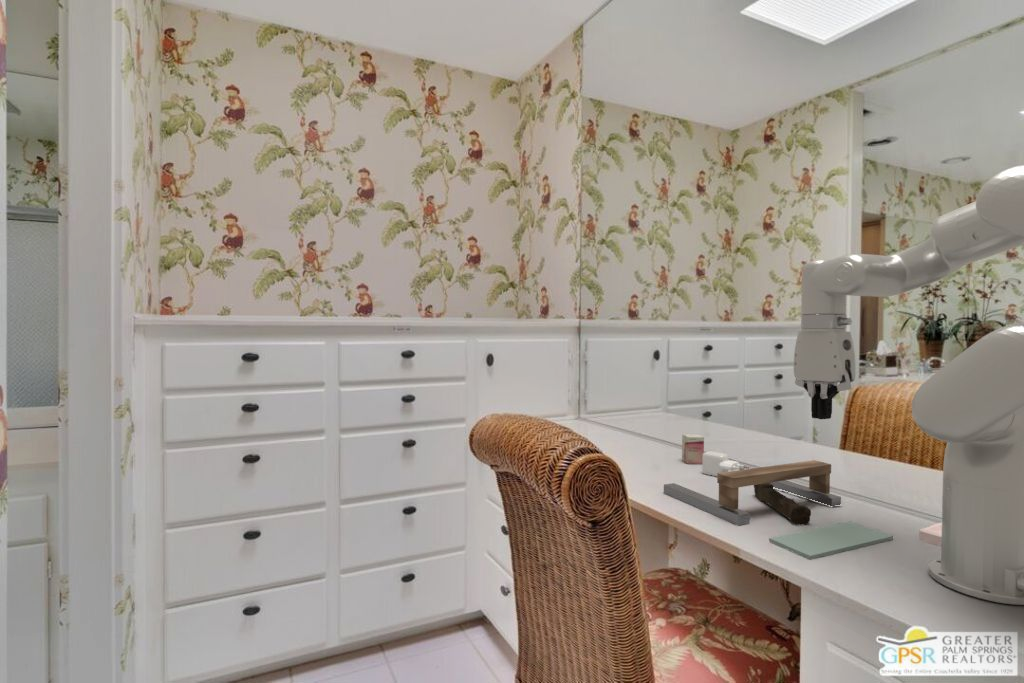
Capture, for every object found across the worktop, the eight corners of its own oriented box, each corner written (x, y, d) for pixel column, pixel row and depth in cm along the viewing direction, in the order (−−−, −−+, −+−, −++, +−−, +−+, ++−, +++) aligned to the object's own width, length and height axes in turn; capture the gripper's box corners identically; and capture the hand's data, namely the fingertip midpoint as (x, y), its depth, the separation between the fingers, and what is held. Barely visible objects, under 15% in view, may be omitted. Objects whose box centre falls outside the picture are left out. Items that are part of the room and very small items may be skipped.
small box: (686, 464, 149) (686, 436, 149) (681, 460, 153) (681, 433, 153) (704, 464, 149) (704, 436, 149) (698, 460, 153) (699, 433, 153)
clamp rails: (840, 505, 114) (841, 496, 114) (738, 525, 102) (738, 515, 102) (757, 479, 134) (757, 471, 134) (663, 493, 122) (663, 484, 122)
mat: (893, 539, 95) (893, 536, 95) (809, 559, 87) (810, 555, 87) (849, 524, 103) (849, 521, 103) (769, 541, 94) (769, 538, 94)
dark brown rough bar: (812, 526, 102) (812, 503, 102) (791, 526, 102) (791, 502, 102) (767, 496, 121) (767, 476, 121) (749, 496, 121) (750, 476, 121)
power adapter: (750, 479, 134) (750, 457, 133) (742, 483, 130) (742, 460, 130) (709, 471, 142) (709, 449, 142) (700, 474, 139) (700, 452, 138)
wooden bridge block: (830, 493, 115) (831, 464, 115) (732, 510, 104) (732, 478, 104) (814, 488, 119) (814, 460, 119) (717, 504, 108) (717, 473, 107)
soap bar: (977, 542, 95) (977, 529, 95) (953, 552, 91) (953, 538, 91) (941, 532, 100) (942, 520, 100) (917, 541, 96) (918, 528, 95)
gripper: (875, 324, 96) (873, 423, 96) (801, 324, 110) (800, 411, 110) (848, 323, 93) (846, 426, 93) (776, 324, 107) (774, 413, 107)
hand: (821, 418), depth 102 cm, fingers closed
